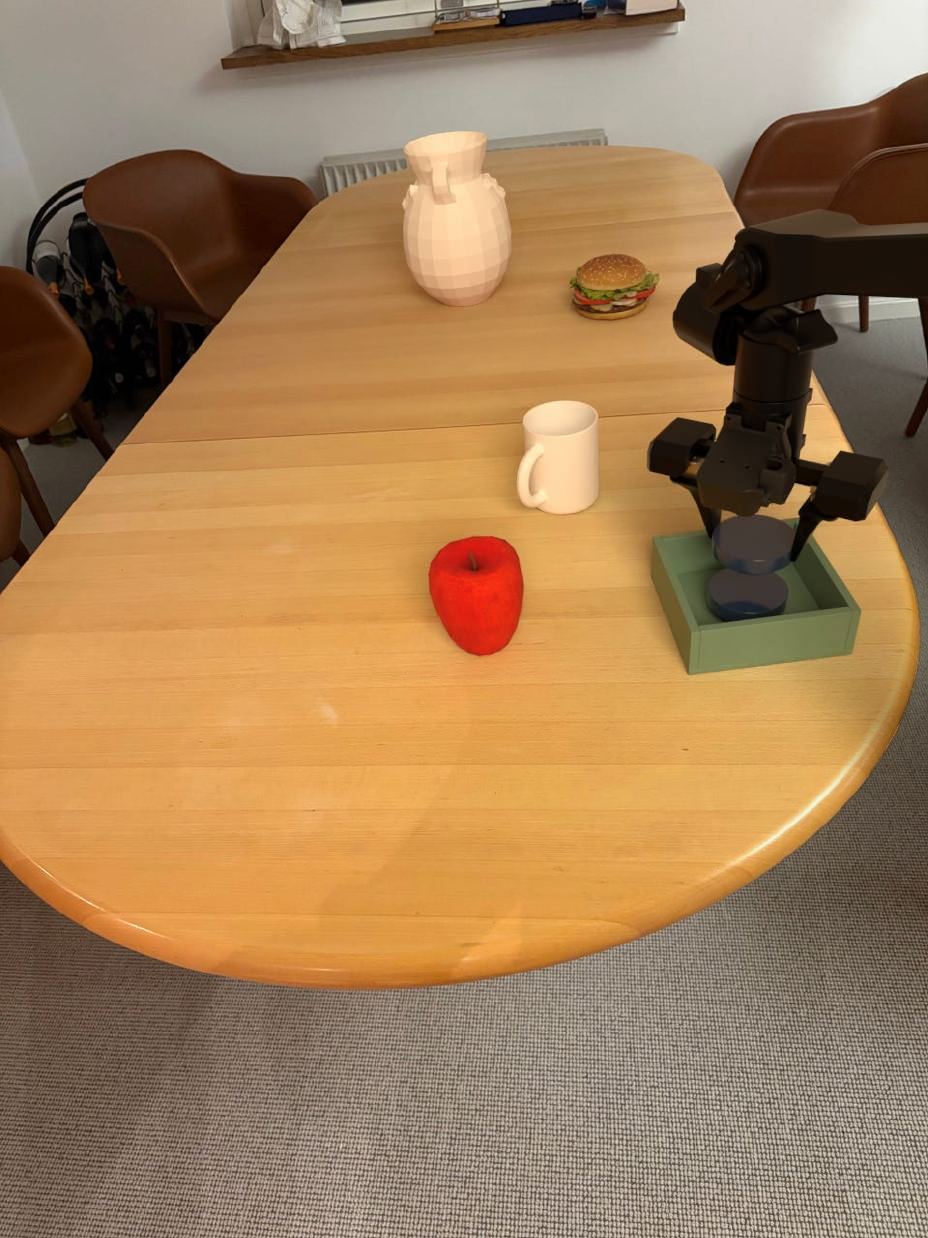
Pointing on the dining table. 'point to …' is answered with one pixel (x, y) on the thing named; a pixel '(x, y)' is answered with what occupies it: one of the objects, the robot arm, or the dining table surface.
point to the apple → (478, 592)
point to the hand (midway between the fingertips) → (752, 547)
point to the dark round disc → (746, 595)
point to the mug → (560, 458)
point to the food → (612, 287)
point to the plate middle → (753, 544)
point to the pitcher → (455, 219)
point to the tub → (804, 631)
